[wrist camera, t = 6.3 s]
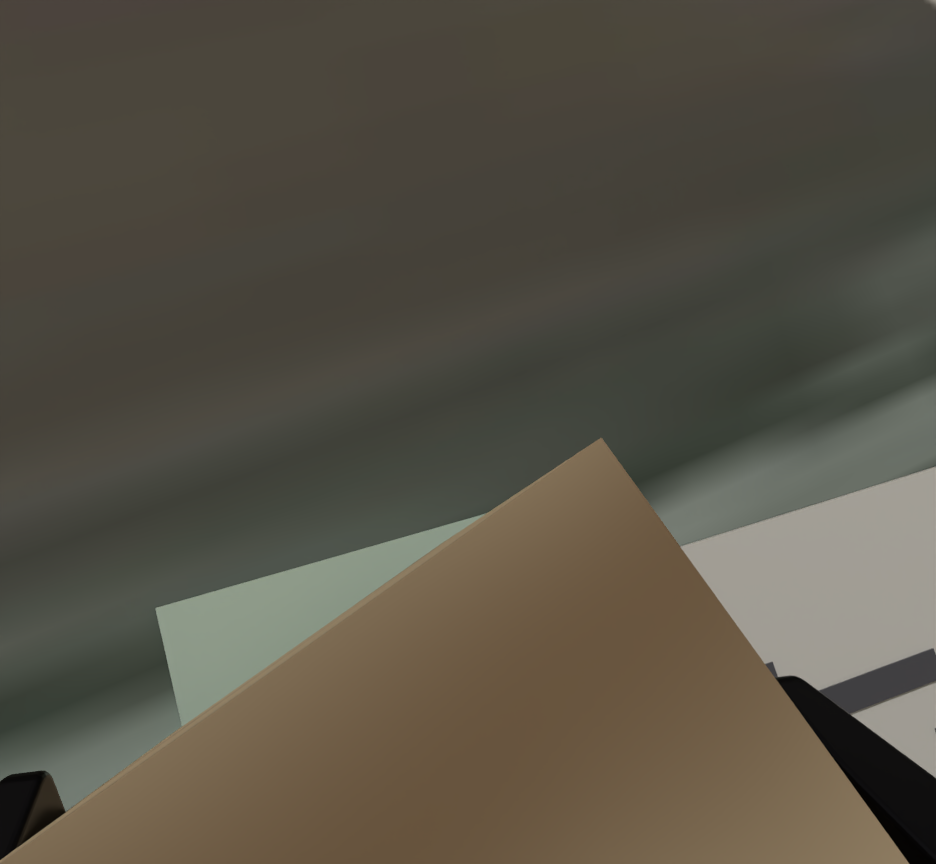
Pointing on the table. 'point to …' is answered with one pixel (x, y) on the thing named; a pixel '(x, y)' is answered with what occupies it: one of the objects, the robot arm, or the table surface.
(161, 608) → the green mat
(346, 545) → the table surface
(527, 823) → the oak block
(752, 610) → the tile
